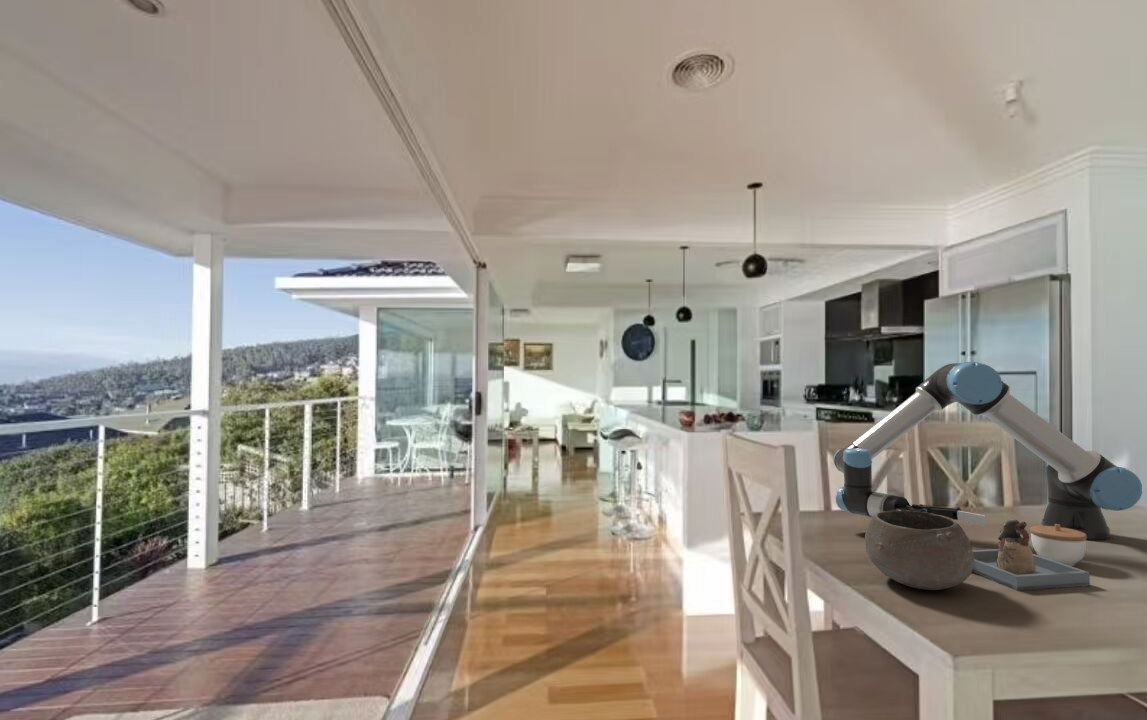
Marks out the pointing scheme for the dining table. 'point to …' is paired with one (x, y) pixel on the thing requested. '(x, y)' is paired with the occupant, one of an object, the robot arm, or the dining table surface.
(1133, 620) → the dining table surface
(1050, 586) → the tray
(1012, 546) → the figurine
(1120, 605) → the dining table surface
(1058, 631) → the dining table surface
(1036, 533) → the lidded jar
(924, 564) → the clay pot
